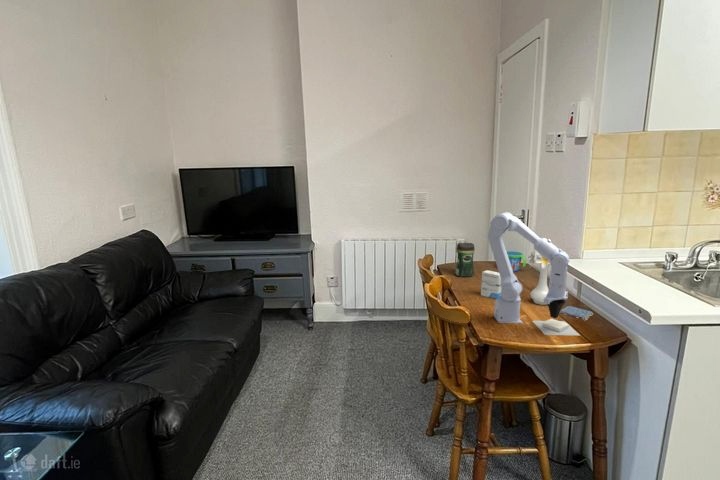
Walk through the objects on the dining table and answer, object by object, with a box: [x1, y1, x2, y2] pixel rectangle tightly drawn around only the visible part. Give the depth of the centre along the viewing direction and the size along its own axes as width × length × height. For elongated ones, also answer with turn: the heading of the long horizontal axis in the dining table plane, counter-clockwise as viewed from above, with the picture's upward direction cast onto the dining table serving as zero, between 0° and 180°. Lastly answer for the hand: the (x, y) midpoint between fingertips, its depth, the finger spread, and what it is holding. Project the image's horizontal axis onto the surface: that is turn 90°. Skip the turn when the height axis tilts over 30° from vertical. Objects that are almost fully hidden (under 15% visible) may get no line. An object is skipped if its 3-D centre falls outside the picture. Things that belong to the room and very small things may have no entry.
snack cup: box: [506, 250, 527, 272], centre depth 233 cm, size 16×10×10 cm
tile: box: [542, 318, 570, 332], centre depth 156 cm, size 1×7×7 cm
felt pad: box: [532, 320, 581, 337], centre depth 156 cm, size 13×13×1 cm
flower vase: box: [527, 249, 551, 306], centre depth 181 cm, size 13×18×25 cm
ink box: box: [480, 270, 502, 300], centre depth 191 cm, size 8×5×12 cm, turn 47°
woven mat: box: [560, 305, 594, 322], centre depth 170 cm, size 10×11×2 cm
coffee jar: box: [455, 242, 476, 278], centre depth 222 cm, size 10×8×19 cm
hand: (553, 317), depth 155 cm, fingers closed
